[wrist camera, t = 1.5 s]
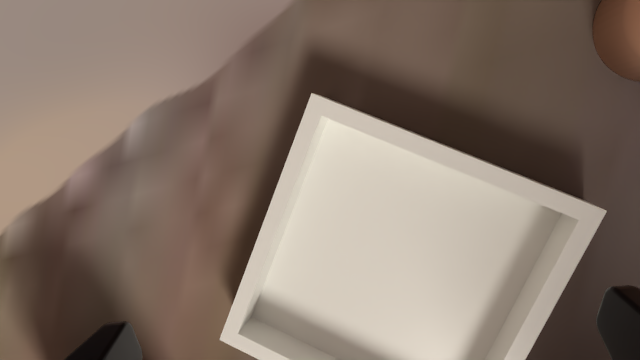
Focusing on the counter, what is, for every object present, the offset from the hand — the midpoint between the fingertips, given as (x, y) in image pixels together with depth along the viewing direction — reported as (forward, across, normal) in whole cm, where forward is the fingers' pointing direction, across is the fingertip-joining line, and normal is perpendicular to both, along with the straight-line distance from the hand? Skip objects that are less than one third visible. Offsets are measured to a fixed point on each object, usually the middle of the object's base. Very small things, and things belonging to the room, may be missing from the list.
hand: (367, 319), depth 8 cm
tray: (+12, -3, +9) cm, 15 cm away
